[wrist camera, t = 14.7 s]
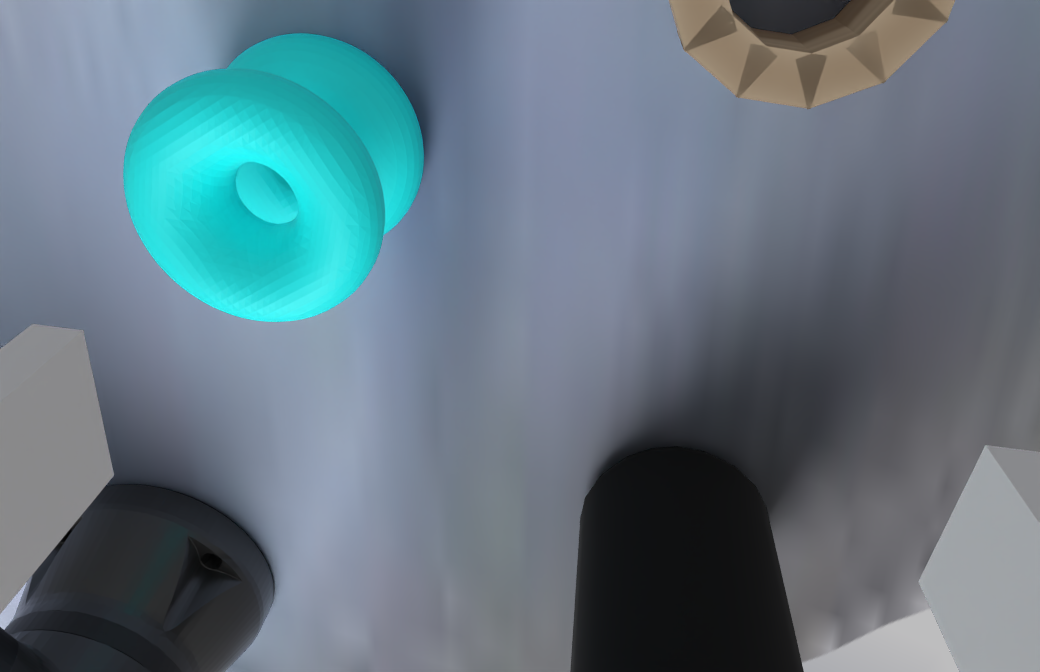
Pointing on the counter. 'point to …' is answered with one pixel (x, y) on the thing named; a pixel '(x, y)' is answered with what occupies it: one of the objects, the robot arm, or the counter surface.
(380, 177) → the donuts
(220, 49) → the counter surface
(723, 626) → the coffee jar
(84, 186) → the counter surface
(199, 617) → the robot arm
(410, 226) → the counter surface
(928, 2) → the collar
